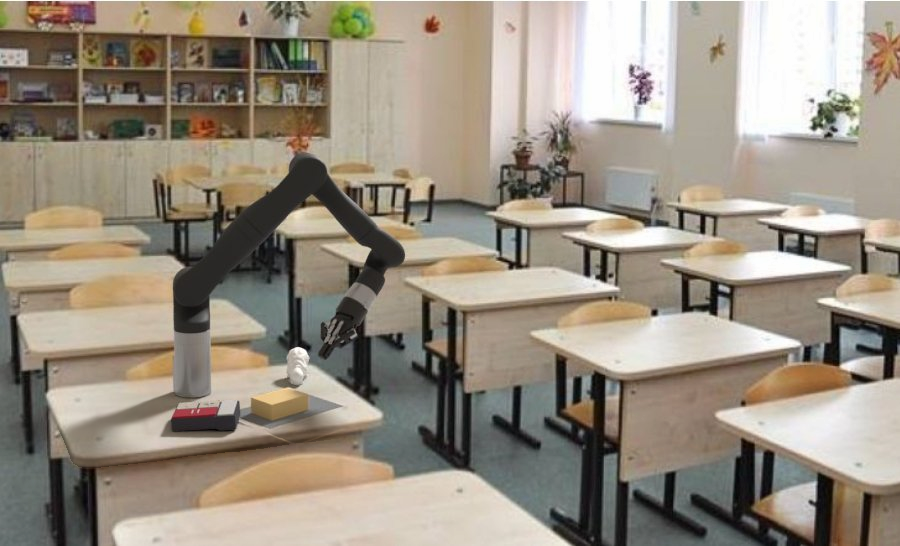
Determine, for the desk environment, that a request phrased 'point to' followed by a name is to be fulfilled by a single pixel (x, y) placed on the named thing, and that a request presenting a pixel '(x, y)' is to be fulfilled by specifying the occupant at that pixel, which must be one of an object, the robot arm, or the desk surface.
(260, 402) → the ochre block
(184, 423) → the red and grey box
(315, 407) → the charcoal mat
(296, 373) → the white figurine
